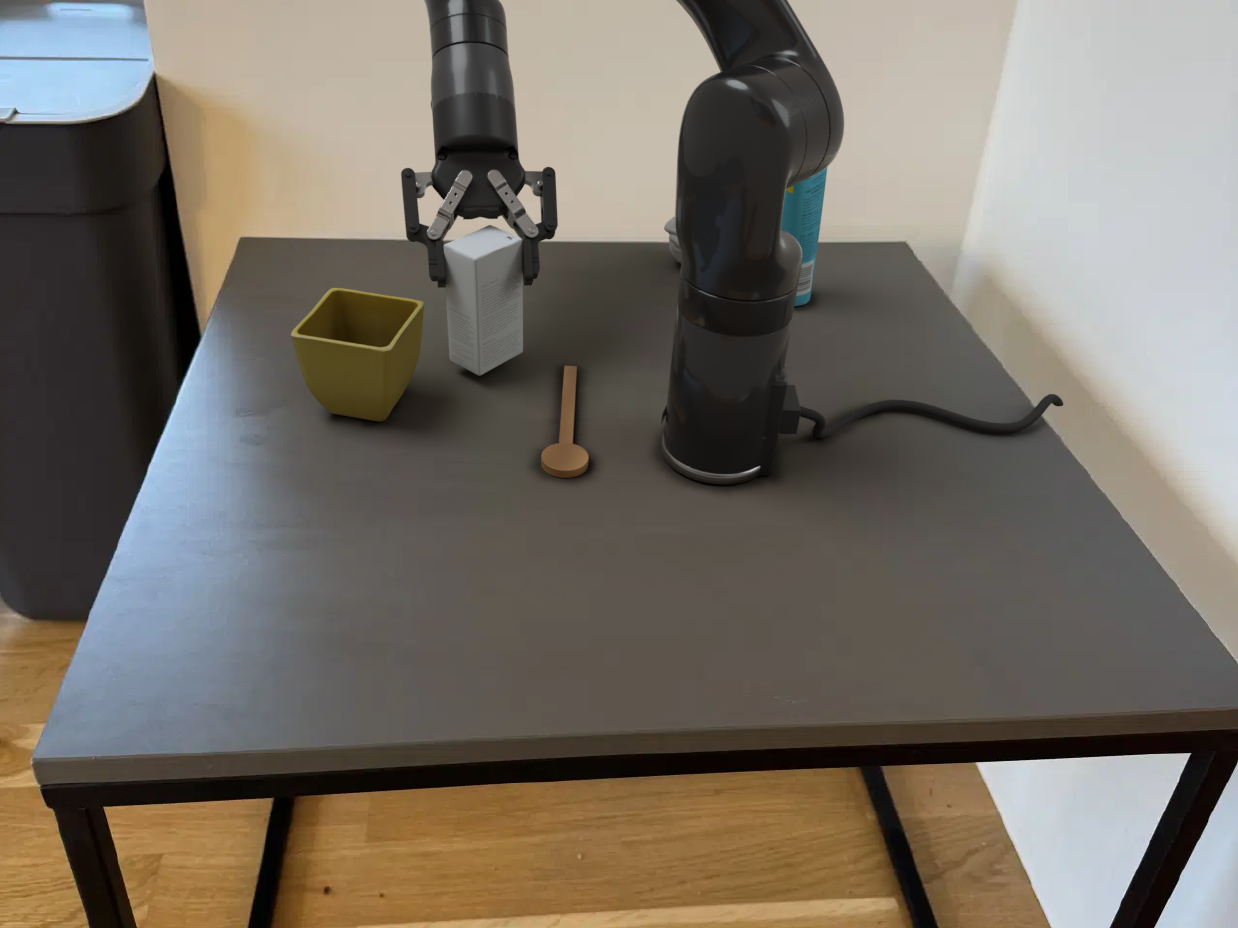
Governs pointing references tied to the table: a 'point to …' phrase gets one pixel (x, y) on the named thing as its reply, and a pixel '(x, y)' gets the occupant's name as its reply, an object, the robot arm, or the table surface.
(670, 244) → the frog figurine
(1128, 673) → the table surface
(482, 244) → the cosmetic box
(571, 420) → the wooden spoon
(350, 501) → the table surface
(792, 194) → the tube
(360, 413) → the flower pot
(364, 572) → the table surface
